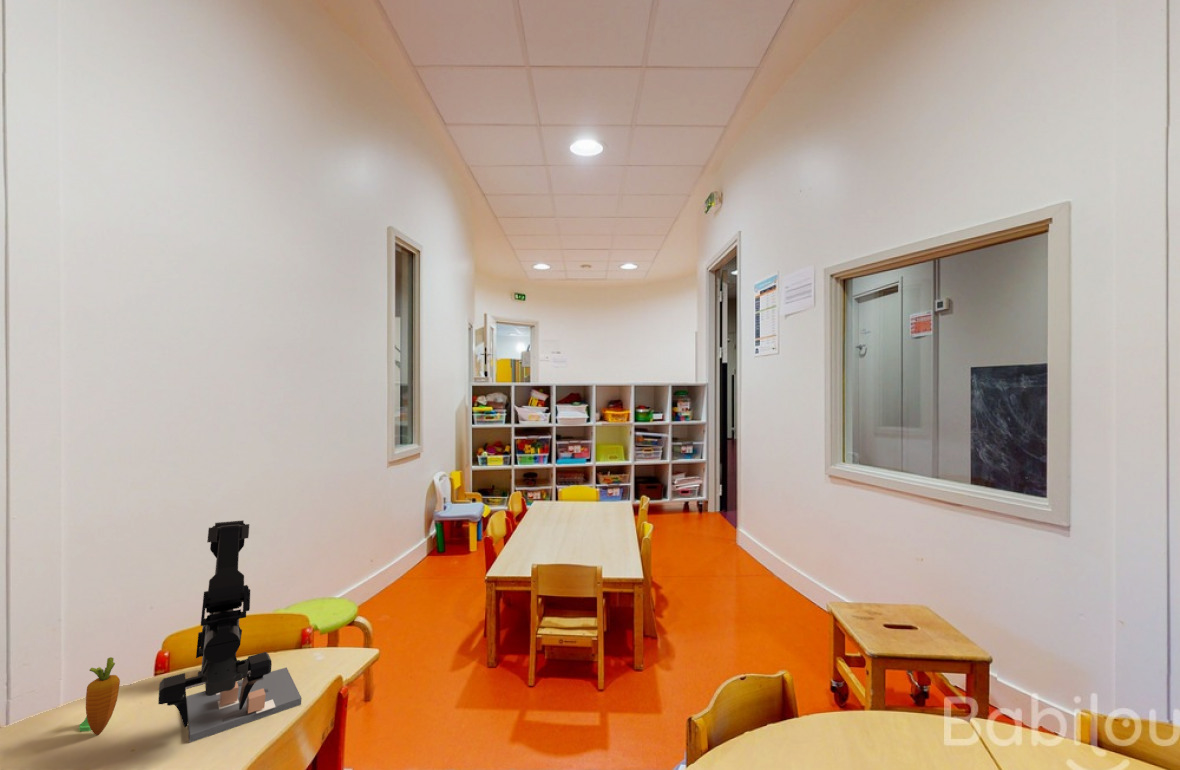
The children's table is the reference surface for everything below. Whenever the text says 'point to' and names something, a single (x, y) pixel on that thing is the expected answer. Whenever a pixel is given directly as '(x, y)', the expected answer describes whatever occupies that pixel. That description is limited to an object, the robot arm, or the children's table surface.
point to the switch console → (215, 718)
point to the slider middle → (229, 695)
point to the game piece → (84, 725)
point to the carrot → (101, 697)
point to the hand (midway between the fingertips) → (213, 717)
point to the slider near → (255, 700)
